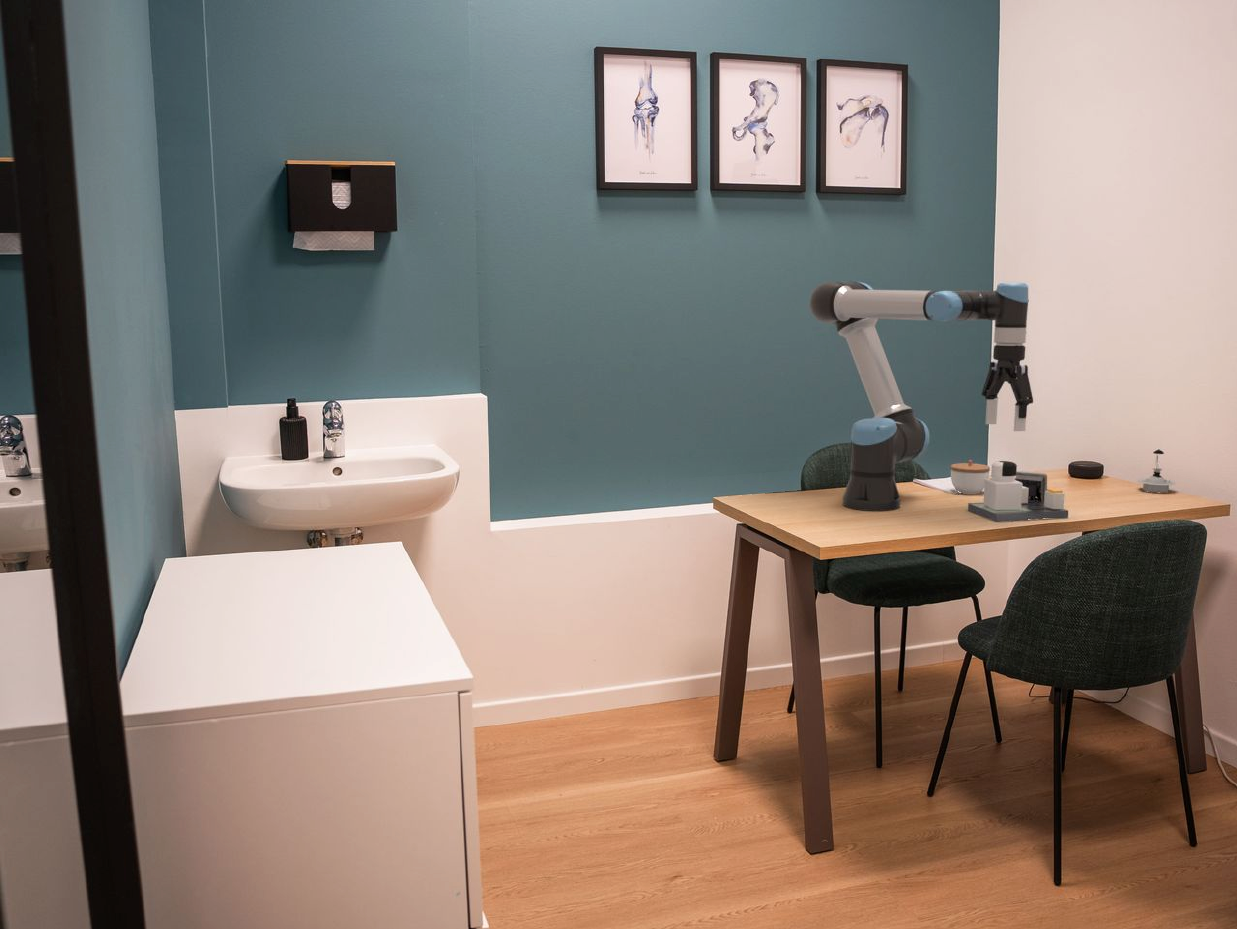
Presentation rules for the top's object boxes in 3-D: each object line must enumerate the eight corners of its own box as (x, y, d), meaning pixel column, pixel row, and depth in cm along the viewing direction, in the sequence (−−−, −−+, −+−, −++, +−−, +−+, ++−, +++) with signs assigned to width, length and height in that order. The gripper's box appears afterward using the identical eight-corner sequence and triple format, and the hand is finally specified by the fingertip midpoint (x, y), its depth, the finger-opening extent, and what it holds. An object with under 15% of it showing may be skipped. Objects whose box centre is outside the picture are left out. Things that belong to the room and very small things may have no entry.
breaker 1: (1017, 503, 273) (1018, 488, 272) (1009, 500, 276) (1009, 485, 276) (1027, 503, 273) (1028, 488, 272) (1019, 500, 277) (1020, 485, 276)
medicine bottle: (1009, 504, 273) (1011, 459, 271) (1021, 510, 266) (1024, 463, 264) (982, 505, 272) (985, 460, 270) (994, 510, 265) (996, 464, 263)
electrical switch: (1047, 504, 283) (1048, 471, 280) (1043, 509, 278) (1044, 476, 276) (1011, 501, 288) (1012, 468, 285) (1007, 506, 283) (1008, 473, 281)
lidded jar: (983, 489, 305) (985, 457, 303) (992, 496, 294) (994, 463, 293) (946, 488, 306) (947, 457, 304) (953, 495, 295) (955, 463, 294)
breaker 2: (1052, 509, 265) (1054, 491, 264) (1043, 506, 269) (1044, 488, 268) (1063, 508, 266) (1064, 491, 265) (1054, 505, 270) (1055, 488, 269)
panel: (996, 521, 262) (996, 514, 261) (967, 510, 275) (968, 503, 275) (1067, 518, 265) (1068, 510, 265) (1036, 507, 279) (1036, 499, 278)
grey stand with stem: (1185, 451, 293) (1167, 446, 303) (1150, 451, 293) (1132, 446, 303) (1182, 494, 295) (1163, 487, 305) (1146, 494, 295) (1129, 488, 305)
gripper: (1051, 346, 251) (1046, 433, 255) (997, 341, 275) (992, 421, 279) (1023, 347, 250) (1018, 434, 253) (971, 342, 274) (966, 421, 278)
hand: (1004, 427), depth 266 cm, fingers open, 13 cm apart
